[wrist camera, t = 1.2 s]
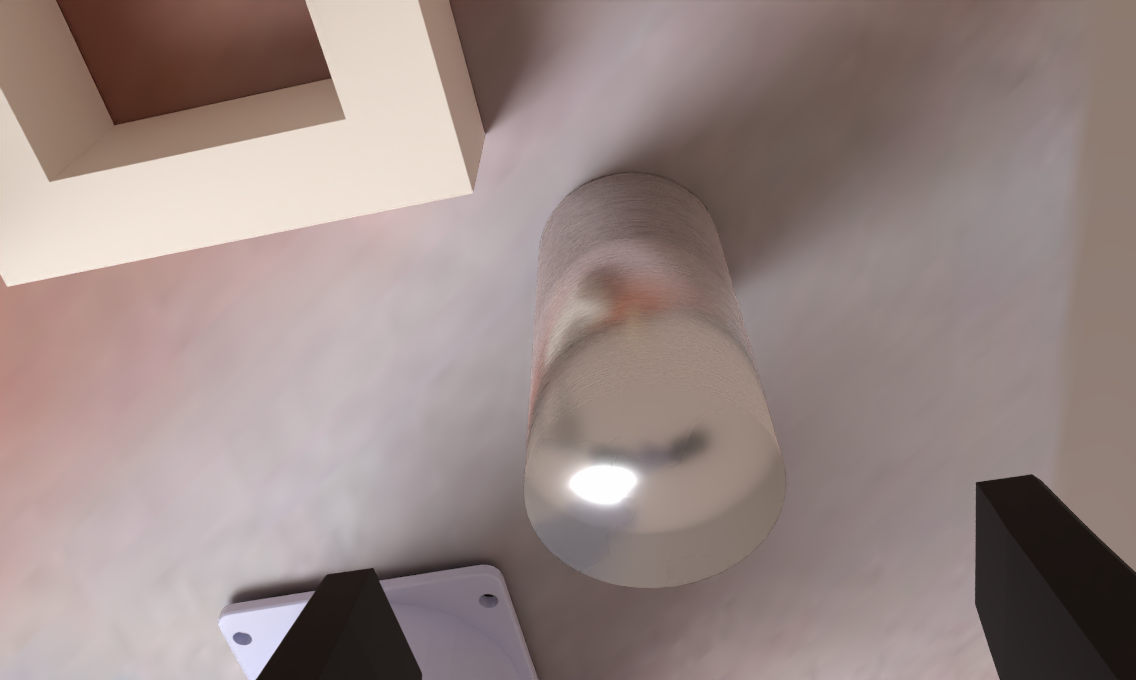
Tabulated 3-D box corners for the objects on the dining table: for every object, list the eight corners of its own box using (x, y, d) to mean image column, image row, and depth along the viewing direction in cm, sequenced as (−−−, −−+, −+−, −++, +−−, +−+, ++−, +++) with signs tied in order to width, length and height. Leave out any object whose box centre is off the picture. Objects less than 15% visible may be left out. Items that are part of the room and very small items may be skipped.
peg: (730, 317, 23) (798, 567, 16) (560, 348, 23) (555, 604, 17) (706, 155, 21) (770, 362, 14) (520, 192, 21) (494, 411, 15)
